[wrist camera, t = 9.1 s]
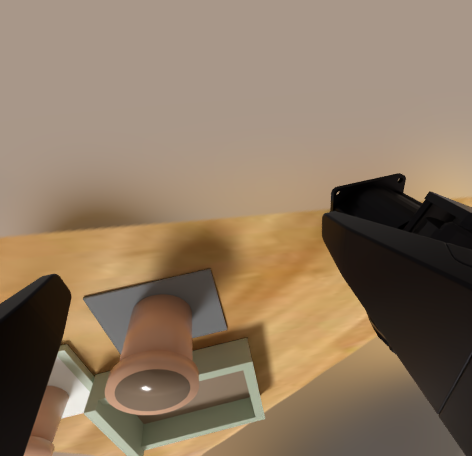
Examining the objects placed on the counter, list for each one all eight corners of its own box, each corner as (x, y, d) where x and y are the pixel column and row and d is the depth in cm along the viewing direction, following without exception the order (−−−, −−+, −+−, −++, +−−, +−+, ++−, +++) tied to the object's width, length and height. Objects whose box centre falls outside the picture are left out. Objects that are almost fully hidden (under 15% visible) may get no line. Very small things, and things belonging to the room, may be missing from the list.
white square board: (66, 344, 26) (63, 350, 26) (114, 400, 33) (112, 406, 32) (-37, 368, 26) (-42, 375, 25) (31, 421, 32) (28, 427, 31)
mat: (210, 268, 24) (210, 269, 24) (226, 328, 29) (227, 329, 29) (83, 297, 24) (82, 299, 24) (121, 353, 28) (121, 355, 28)
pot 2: (187, 283, 25) (187, 354, 18) (203, 330, 28) (207, 403, 22) (114, 299, 24) (87, 378, 18) (140, 344, 28) (124, 423, 21)
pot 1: (57, 378, 28) (29, 440, 23) (81, 402, 31) (61, 462, 26) (5, 391, 28) (-34, 456, 23) (34, 414, 31) (5, 476, 26)
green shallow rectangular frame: (247, 337, 30) (254, 370, 27) (260, 395, 38) (267, 427, 34) (95, 374, 29) (83, 413, 26) (138, 426, 37) (133, 462, 33)
